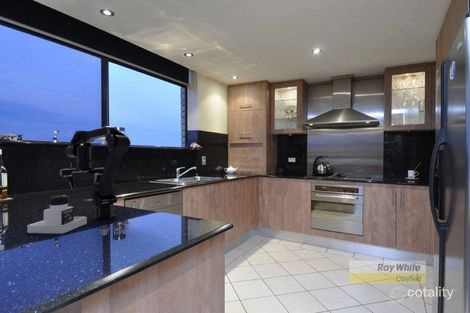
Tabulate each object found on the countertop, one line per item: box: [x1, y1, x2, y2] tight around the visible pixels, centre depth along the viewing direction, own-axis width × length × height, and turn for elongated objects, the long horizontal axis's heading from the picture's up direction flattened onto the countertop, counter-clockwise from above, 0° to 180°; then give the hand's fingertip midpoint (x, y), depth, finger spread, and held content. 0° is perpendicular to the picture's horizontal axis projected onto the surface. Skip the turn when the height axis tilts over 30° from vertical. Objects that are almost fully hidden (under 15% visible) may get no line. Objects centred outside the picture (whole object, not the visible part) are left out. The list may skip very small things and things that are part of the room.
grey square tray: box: [27, 216, 88, 234], centre depth 101 cm, size 14×14×3 cm
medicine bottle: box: [43, 194, 75, 225], centre depth 101 cm, size 7×7×12 cm
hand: (84, 189), depth 124 cm, fingers open, 9 cm apart
